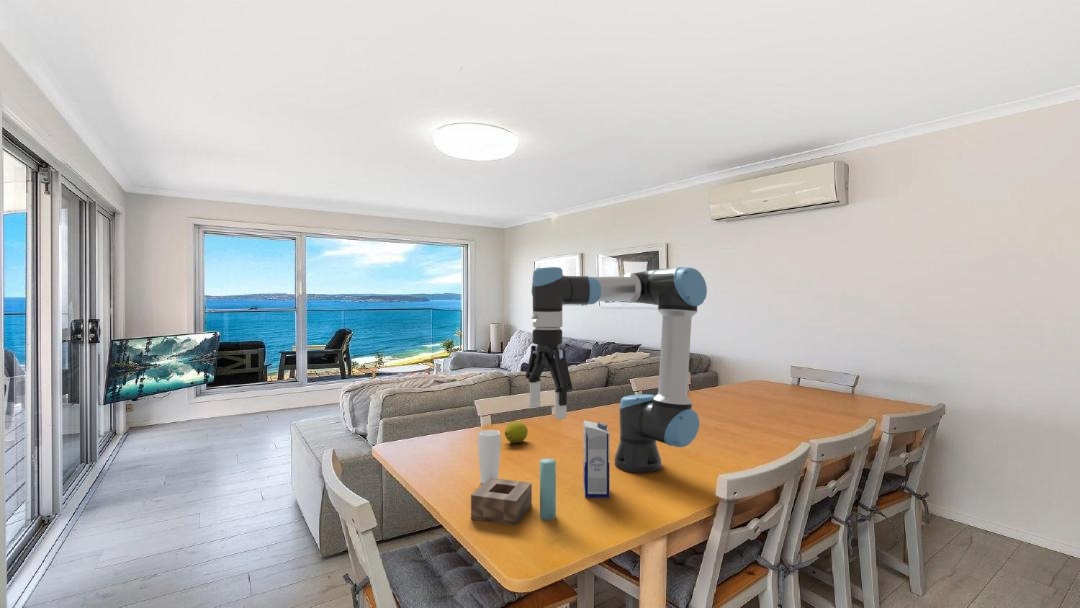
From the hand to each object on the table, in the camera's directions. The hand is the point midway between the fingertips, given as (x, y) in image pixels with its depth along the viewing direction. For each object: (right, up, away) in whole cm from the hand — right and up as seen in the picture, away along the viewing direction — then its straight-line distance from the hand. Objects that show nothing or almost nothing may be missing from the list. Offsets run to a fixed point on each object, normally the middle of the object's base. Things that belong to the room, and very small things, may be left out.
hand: (547, 412), depth 120 cm
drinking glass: (-17, -26, +22) cm, 39 cm away
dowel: (0, -26, 0) cm, 26 cm away
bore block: (-12, -26, +3) cm, 29 cm away
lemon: (-11, -26, +61) cm, 68 cm away
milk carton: (+14, -26, +15) cm, 33 cm away
